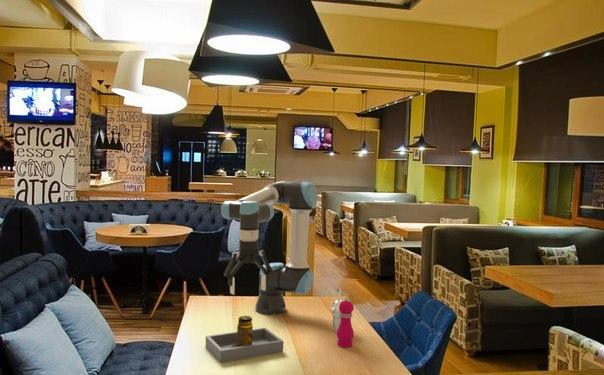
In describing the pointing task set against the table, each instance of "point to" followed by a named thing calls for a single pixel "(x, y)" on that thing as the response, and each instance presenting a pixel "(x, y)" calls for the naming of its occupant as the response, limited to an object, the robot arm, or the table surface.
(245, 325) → the condiment
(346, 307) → the pepper mill
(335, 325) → the cup with straw
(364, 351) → the table surface
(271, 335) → the tray
